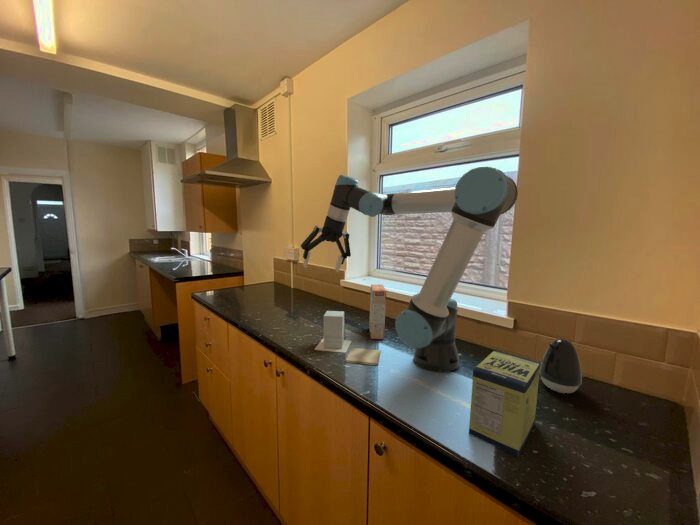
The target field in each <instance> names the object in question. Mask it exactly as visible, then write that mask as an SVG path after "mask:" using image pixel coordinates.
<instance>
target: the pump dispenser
mask: <svg viewBox="0 0 700 525" xmlns="http://www.w3.org/2000/svg"><path fill="white" fill-rule="evenodd" d="M582 374H583V373H582V365H581V360H580V356H579V354H578V350H577V348H576V347H575V345H574V344H573V342H571V341H570V340H569V339H566V338H557V339H554V340H553V341H552V342H551V343H550V344H549V345H548V347H547V349H546V351H545V352H544V355H543V356H542V359H541V362H540V372H539V376H540V378H541V381H542V383H543V384H544V385H545V386H546V387H547V388H548V389H549V388H550V389H549V390H551V391H554V392H555V391H556V393H559V394H565V393H567V394H572V393H575V392H576V391H577V390H578V389H579V388H580V386H581V385H582V383H583V382H582V381H583V376H582Z"/></svg>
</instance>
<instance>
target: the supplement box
mask: <svg viewBox="0 0 700 525" xmlns="http://www.w3.org/2000/svg"><path fill="white" fill-rule="evenodd" d="M322 317H323V338H324V348H342V347H343V343H344V340H345V311H342V310H341V311H339V310H326V312H325V313H324V314H323V316H322Z"/></svg>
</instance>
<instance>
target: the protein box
mask: <svg viewBox="0 0 700 525" xmlns="http://www.w3.org/2000/svg"><path fill="white" fill-rule="evenodd" d="M540 366H541V362H539V361H536V360H534V359H533V360H532V359H529V358H525V357H521V356H519V355H518V356H517V355H514V354H510V353H507V352H503V351H499V350H496V349H494V350H493V351H492V352H491V353H490V354H488V355H487V357H485V358H484V359H483V360H481V362H479V364H477V365H476V366H475V367H474V368H473V371H472V383H471V384H472V385H471V386H472V387H471V400H470V401H471V402H470V412H469V424H468V425H469V427H468V434H469V435H470V434H471V435H470V436H472V437H475V438H476V439H479V440H480V441H484V442H485V443H488V444H489V443H490V445H492V446H494V447H496V448H498V447H499V449H500V448H501V449H500V450H503V451H504V450H505V451H504V452H507V453H509V454H511V455H513V456H515V457H517V456H518V457H517V458H519V457H520V455H521V453H522V450H523V448H524V447H525V445H526V442H527V440H528V438H529V436H530V434H531V432H532V430H533V428H534V425H535V423H536V422H535V421H536V412H537V401H538V390H539V382H540V380H539V379H540V373H539V372H540Z"/></svg>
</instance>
